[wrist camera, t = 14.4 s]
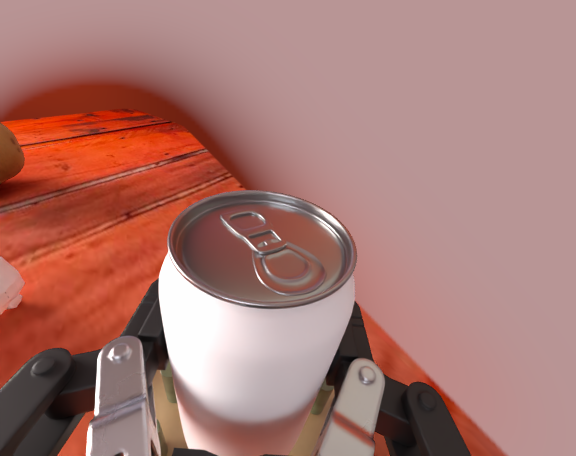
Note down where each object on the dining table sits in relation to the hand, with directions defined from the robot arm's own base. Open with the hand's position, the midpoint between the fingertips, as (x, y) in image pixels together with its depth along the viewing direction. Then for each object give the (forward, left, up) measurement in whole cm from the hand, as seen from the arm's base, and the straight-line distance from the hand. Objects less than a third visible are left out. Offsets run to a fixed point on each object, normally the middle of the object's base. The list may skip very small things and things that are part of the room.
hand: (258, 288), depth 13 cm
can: (0, +2, -7) cm, 8 cm away
